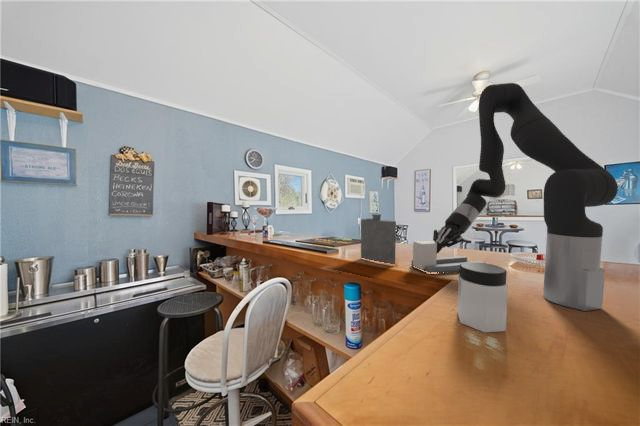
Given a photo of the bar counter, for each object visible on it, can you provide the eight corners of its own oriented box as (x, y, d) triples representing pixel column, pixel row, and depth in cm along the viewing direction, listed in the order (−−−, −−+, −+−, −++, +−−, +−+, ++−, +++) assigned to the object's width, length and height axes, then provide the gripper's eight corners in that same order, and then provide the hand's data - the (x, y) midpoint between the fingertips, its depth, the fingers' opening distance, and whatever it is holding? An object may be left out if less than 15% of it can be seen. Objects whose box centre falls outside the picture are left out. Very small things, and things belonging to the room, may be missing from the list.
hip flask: (396, 265, 90) (397, 214, 89) (391, 267, 88) (391, 215, 86) (363, 257, 102) (364, 212, 101) (358, 259, 99) (358, 213, 98)
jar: (483, 311, 54) (485, 260, 53) (516, 331, 46) (519, 272, 45) (447, 313, 53) (449, 262, 52) (474, 334, 45) (477, 274, 44)
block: (436, 268, 82) (436, 243, 82) (421, 269, 81) (422, 244, 80) (426, 264, 87) (427, 240, 86) (412, 265, 86) (413, 241, 85)
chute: (485, 269, 84) (485, 262, 84) (429, 275, 79) (429, 267, 78) (462, 262, 94) (462, 256, 94) (411, 266, 88) (411, 260, 88)
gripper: (442, 210, 92) (415, 242, 90) (471, 212, 79) (440, 249, 77) (453, 223, 93) (426, 254, 91) (483, 227, 81) (453, 264, 79)
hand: (433, 252), depth 84 cm, fingers closed
